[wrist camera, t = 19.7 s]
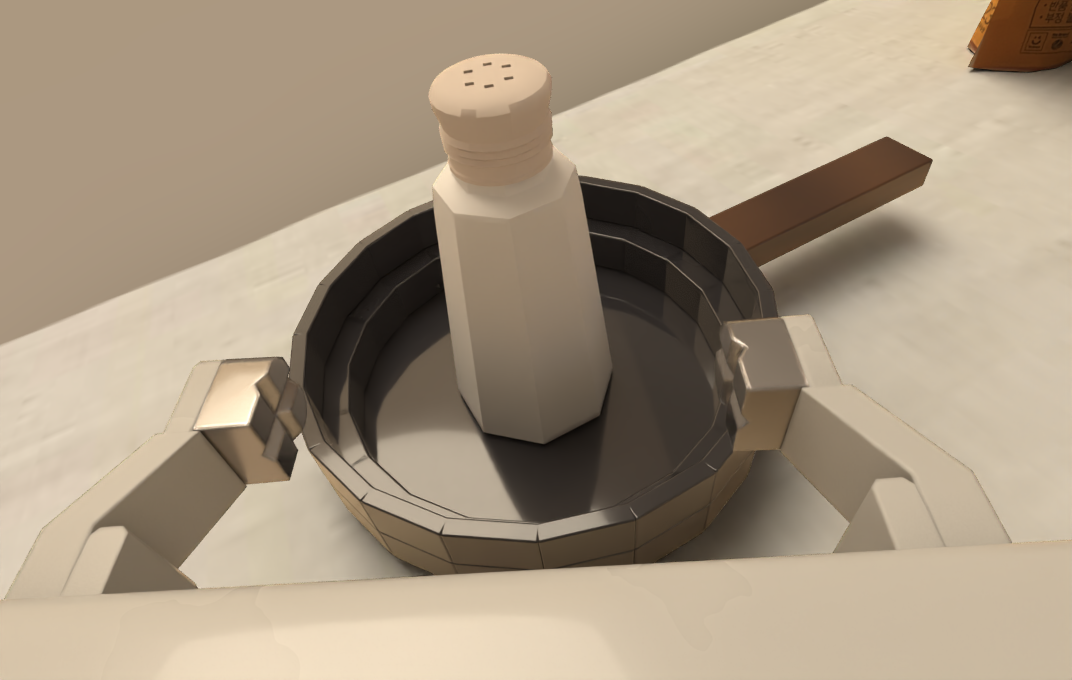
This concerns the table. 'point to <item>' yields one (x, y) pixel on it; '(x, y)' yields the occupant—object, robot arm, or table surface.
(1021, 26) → the pancake mix bag
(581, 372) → the pepper shaker
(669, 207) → the pan
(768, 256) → the pan handle
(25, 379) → the table surface
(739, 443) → the robot arm
